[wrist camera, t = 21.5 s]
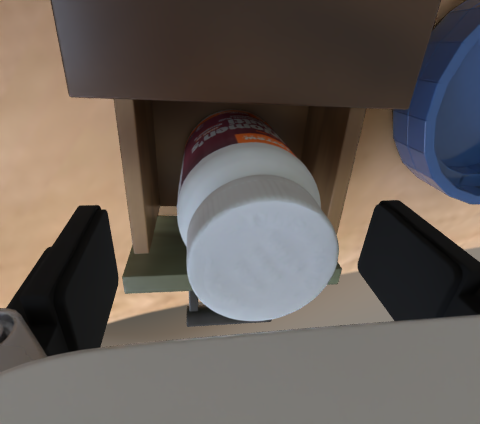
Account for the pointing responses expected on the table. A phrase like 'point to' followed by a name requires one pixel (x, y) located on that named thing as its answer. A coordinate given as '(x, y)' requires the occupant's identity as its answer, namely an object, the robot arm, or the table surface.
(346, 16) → the cabinet
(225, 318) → the drawer
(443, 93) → the bowl
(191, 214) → the pill bottle
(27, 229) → the table surface
